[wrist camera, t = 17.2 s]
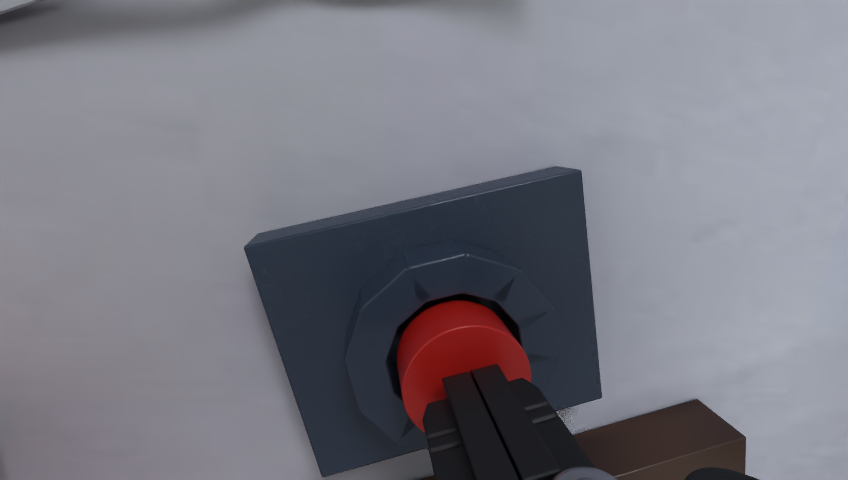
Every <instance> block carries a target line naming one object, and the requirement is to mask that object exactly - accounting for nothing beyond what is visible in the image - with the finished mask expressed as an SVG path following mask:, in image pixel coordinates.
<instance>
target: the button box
mask: <svg viewBox="0 0 848 480" xmlns="http://www.w3.org/2000/svg"><path fill="white" fill-rule="evenodd" d="M244 250H245V253H246V256H247V259H248V262H249V264H250V267H251V270H252V273H253V276H254V279H255V282H256V285H257V288H258V291H259V294H260V297H261V300H262V303H263V305H264V308H265V311H266V314H267V317H268V320H269V323H270V326H271V329H272V332H273V335H274V338H275V341H276V344H277V346H278V349H279V352H280V355H281V358H282V361H283V364H284V367H285V370H286V373H287V376H288V379H289V382H290V385H291V387H292V390H293V393H294V396H295V399H296V402H297V405H298V408H299V411H300V414H301V417H302V420H303V423H304V426H305V429H306V431H307V434H308V437H309V440H310V443H311V446H312V449H313V452H314V455H315V458H316V461H317V464H318V467H319V470H320V472H321V475H322V477H326V476H329V475H333V474H336V473H340V472H343V471H347V470H350V469H354V468H357V467H361V466H364V465H368V464H371V463H375V462H379V461H382V460H386V459H389V458H393V457H396V456H400V455H403V454H407V453H410V452H414V451H417V450H421V449H429V448H428V444H427V439H426V434H425V433H424V432H423V431H422V430H420V429H419V428H418V427H417V426H416V425H415V424H414V423H413V422H412V420H411V419H410V418H409V416H408V414H407V412H406V410H405V407H404V404H403V399H402V393H401V387H400V380H399V374H398V367H397V348H398V345H399V341H400V339H401V336H402V334H403V332H404V331H405V329H406V328H407V326H408V325H409V324H410V322H411V321H412V320H413V319H414V318H415V317H416V316H418V315H419V314H420V313H421V312H423V311H424V310H426V309H428V308H429V307H432V306H434V305H436V304H439V303H442V302H446V301H452V300H466V301H472V302H476V303H479V304H481V305H483V306H485V307H487V308H489V309H490V310H492V311H493V312H494V313H495V314H496V315H497V316H498V317H499V318H500V319H501V320H502V322H503V323H504V324H505V326H506V327H507V328H508V330H509V331H510V332H511V334H512V335H513V336H514V337H515V339H516V340H517V341H518V343H519V344H520V345H521V347H522V348H523V350H524V352H525V353H526V355H527V358H528V360H529V364H530V370H531V383H532V384H534V385H535V386H537V387H538V388H539V389H540V390H541V392H542V393H543V395H544V396H545V397H546V399H547V400H548V402H549V405H551V406H552V407H553V409H554V410H555V411H558V410H561V409H565V408H568V407H572V406H575V405H579V404H582V403H586V402H589V401H593V400H596V399H600V398H602V394H601V383H600V371H599V360H598V349H597V338H596V327H595V316H594V305H593V294H592V283H591V272H590V261H589V250H588V239H587V228H586V217H585V206H584V195H583V184H582V173H581V170H578V169H571V168H565V167H558V166H556V167H551V168H547V169H543V170H538V171H534V172H529V173H525V174H521V175H516V176H512V177H507V178H503V179H498V180H494V181H490V182H485V183H481V184H476V185H472V186H467V187H463V188H459V189H454V190H450V191H445V192H441V193H436V194H432V195H428V196H423V197H419V198H414V199H410V200H405V201H401V202H397V203H392V204H388V205H383V206H379V207H374V208H370V209H366V210H361V211H357V212H352V213H348V214H344V215H339V216H335V217H330V218H326V219H321V220H317V221H313V222H308V223H304V224H299V225H295V226H290V227H286V228H282V229H277V230H273V231H268V232H264V233H259V234H257V235H256V236H255V237H254V238H253V239H252V240H251V241H250V242H249V243H248V244H247V245H245V246H244Z"/></svg>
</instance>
